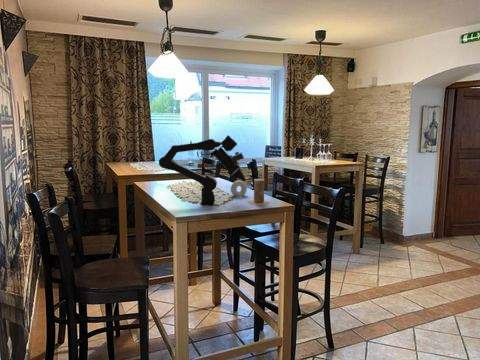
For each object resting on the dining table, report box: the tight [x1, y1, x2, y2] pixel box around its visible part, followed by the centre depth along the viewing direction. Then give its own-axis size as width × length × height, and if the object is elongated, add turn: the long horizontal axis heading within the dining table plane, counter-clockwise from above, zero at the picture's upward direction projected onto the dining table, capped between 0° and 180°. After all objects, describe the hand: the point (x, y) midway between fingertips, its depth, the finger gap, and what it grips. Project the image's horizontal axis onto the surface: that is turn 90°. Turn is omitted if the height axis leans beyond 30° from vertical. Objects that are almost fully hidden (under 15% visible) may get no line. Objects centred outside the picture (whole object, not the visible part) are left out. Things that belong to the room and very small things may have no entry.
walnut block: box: [253, 178, 265, 203], centre depth 203 cm, size 5×5×12 cm
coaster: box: [247, 199, 271, 206], centre depth 204 cm, size 12×12×1 cm
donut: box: [230, 179, 248, 197], centre depth 221 cm, size 10×4×10 cm, turn 115°
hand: (244, 179), depth 202 cm, fingers open, 9 cm apart
